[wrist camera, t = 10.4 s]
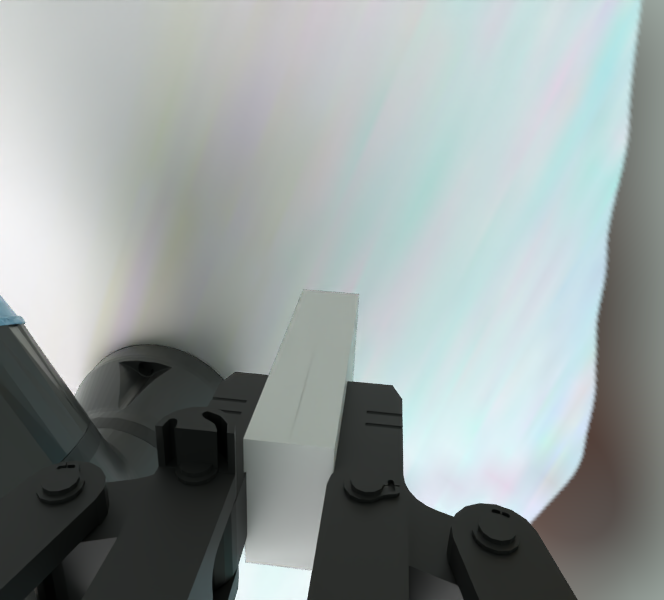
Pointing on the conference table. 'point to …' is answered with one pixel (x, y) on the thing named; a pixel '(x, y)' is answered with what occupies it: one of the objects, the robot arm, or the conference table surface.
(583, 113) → the conference table surface
